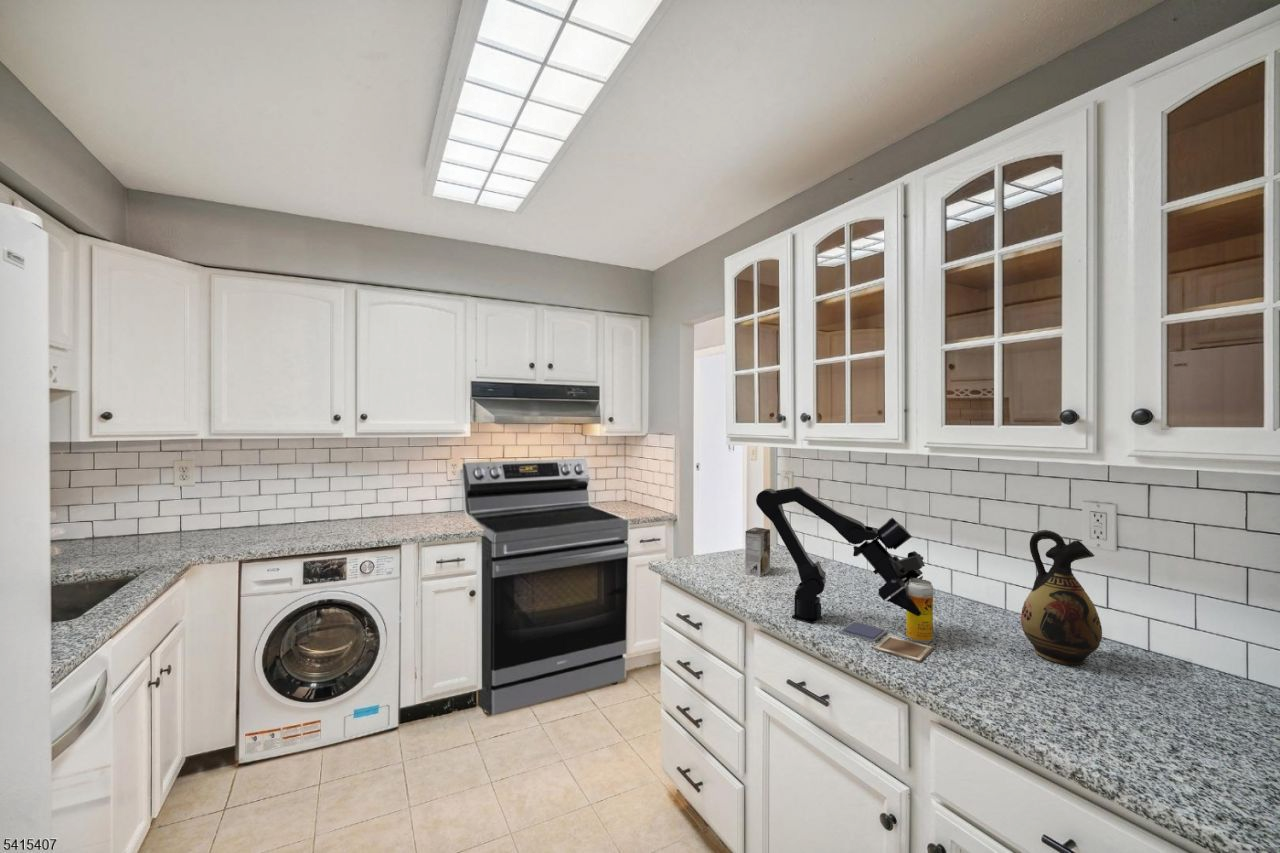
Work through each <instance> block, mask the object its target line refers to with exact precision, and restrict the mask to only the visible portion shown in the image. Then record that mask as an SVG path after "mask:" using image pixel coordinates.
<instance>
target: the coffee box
mask: <svg viewBox="0 0 1280 853" xmlns="http://www.w3.org/2000/svg"><path fill="white" fill-rule="evenodd" d="M744 547H745V552H744V553H745V560H744V561H745V562H744V563H745V565H744V566H745V568H744V569H745V570H744V573H745V574H744V575H747V574H749V576H752V575H754V576H753V577H758V576H761V577H763V576H765V575H767V574H769V573H770V572H771V529H768V528H763V527H758V526H757V527H752V528H750V529H747V530H745V546H744ZM769 571H770V572H769ZM764 574H765V575H764Z"/></svg>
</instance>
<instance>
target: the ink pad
mask: <svg viewBox="0 0 1280 853" xmlns="http://www.w3.org/2000/svg"><path fill="white" fill-rule="evenodd" d="M840 633H841V635H844V634H845V636H848V635H849V637H851V636H853V638H855V637H856V639H859V638H860V640H862V639H864V640H863V641H866V640H868V641H867V642H870V641H871V643H873V642H875V643H877V642H878V641H879V640H880V639H881V637H882V638H883V637H884V636H886V635H887V634H888V630H886V629H884V628H881V627H880V628H879V627H875V626H871V625H868V624H864V623H860V622H856V621H852V622H851V623H850V624H848V625H847V626H845V627H844V628H841V630H839V634H840ZM877 640H878V641H877Z"/></svg>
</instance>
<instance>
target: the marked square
mask: <svg viewBox="0 0 1280 853" xmlns="http://www.w3.org/2000/svg"><path fill="white" fill-rule="evenodd" d="M873 649H874V650H873ZM934 649H935V647H933V646H932V645H931V646H930V645H926V644H924V643H918V642H914V641H912V640H909V639H908V640H907V639H903V638H899V637H896V636H892V635H887V636H885V637H884V638H883V639H881V641H879V642H878V643H876V644H875V645H874V646H873V647H872V650H873V651H877V650H878V651H877V652H880V651H881V653H884V654H888V655H892V656H895V657H899V658H902V659H905V660H910V661H913V662H915V663H919V664H921V663H923V661H924V660H925V659H926V658H927V657H928V656H929V654H931V653H932V652H933V651H934Z"/></svg>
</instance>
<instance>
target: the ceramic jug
mask: <svg viewBox="0 0 1280 853" xmlns="http://www.w3.org/2000/svg"><path fill="white" fill-rule="evenodd" d="M1042 540H1051V541H1053V542H1054V543H1055V544H1056V545H1054V546H1052V547H1050V548H1049V549H1048V550H1047V551H1046V552H1045V556H1046V558H1048V559H1052V560H1053V562H1052V563H1053V564H1052V566H1051V567H1050V569H1049V570H1048V572H1047V571H1046V569H1045V565H1044V563H1043V561H1042V558H1041V554H1040V551H1039V546H1038V544H1039V542H1040V541H1042ZM1029 550H1030V555H1031V557H1032V560H1033V562H1034V565H1035V568H1036V572H1037V575H1036V577H1035V580H1034V582H1033V586H1032V589H1031V591H1030V592H1029V594H1028V596H1026V598H1025V600H1024V602H1023V606H1022V608H1021V614H1020V626H1021V629H1022V631H1023V633H1024V635H1025V637H1026V638H1027V640H1028V641H1029V642H1030V643H1031V644H1032V645H1033V647H1034V649H1033V652H1034V653H1035V654H1037V655H1038V656H1040V657H1042V658H1043V659H1045V660H1047V661H1050V662H1053V663H1057V664H1060V665H1064V666H1068V667H1077V666H1079V667H1081V666H1080V665H1082V666H1084V665H1083V664H1085V665H1086V662H1085V661H1086V659H1087V658H1088V657H1089V656H1090V655H1091V654H1093V653H1094V652H1095V651H1096V650H1097V649H1098V648H1099V646H1100V644H1101V641H1102V638H1103V628H1102V625H1101V624H1102V622H1101V620H1100V617H1099V614H1098V612H1097V609H1096V607H1095V604H1094V602H1093V601H1092V599H1091V598H1090V596H1089V595H1088V593H1087V592H1086V590H1085V588H1084V587H1083V586H1082V585H1081V583H1080V582H1079V581H1078V580H1077V578H1076V576H1075V575H1074V573H1073V571H1072V568H1071V566H1072V563H1073V562H1076V561H1078V560H1083V559H1088V558H1094V557H1095V556H1096V555H1095V554H1094V553H1093V552H1092V551H1091V550H1090V549H1089V548H1087V546H1086V545H1084V544H1083V542H1082V541H1080V540H1073V541H1072V542H1070V543H1068V544H1066V542H1065V540H1064V538H1063V537H1062V536H1061V535H1060V534H1059V533H1057V532H1055V531H1052V530H1048V529H1040V530H1038V531H1036V532H1034V533H1033V534H1032V535H1031V537H1030V540H1029ZM1012 648H1013V646H1012Z"/></svg>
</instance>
